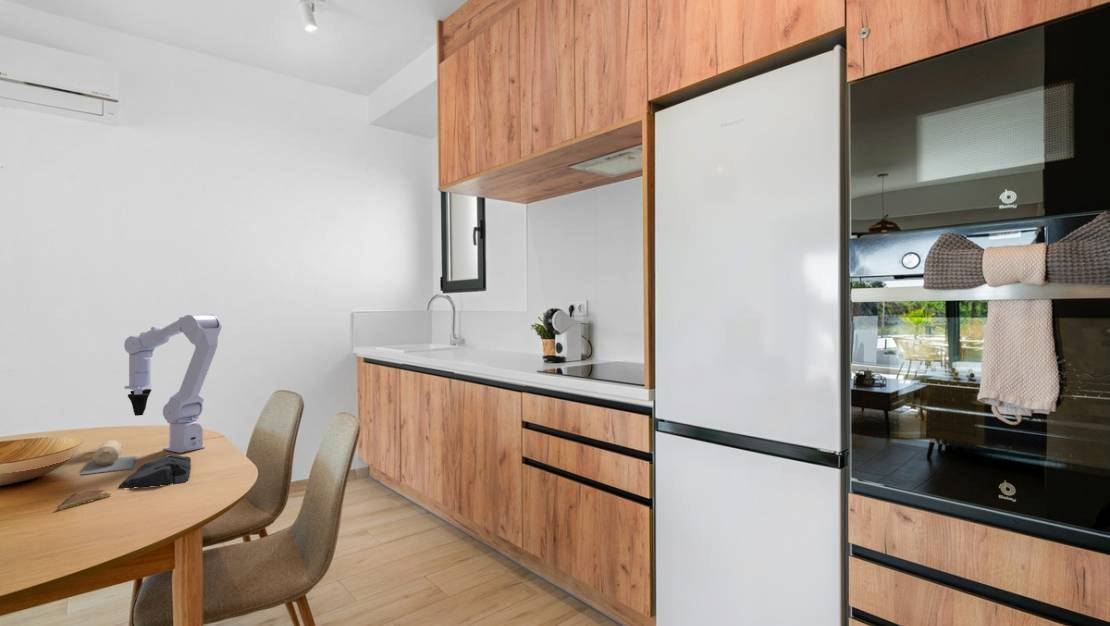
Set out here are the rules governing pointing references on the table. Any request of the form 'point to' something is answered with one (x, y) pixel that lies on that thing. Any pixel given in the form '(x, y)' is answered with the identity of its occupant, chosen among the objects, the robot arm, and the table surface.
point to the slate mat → (109, 466)
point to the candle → (108, 452)
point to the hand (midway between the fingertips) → (139, 413)
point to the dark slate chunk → (160, 472)
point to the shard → (83, 497)
